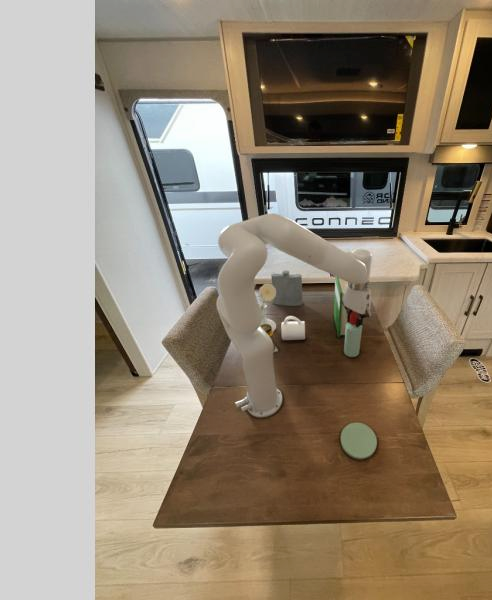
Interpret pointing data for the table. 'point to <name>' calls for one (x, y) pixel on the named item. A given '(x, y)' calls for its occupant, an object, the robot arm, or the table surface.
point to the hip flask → (287, 289)
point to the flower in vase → (267, 295)
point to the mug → (293, 329)
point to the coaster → (358, 440)
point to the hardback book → (340, 306)
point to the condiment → (268, 330)
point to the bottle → (352, 340)
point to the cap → (353, 318)
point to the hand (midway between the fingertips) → (354, 323)
